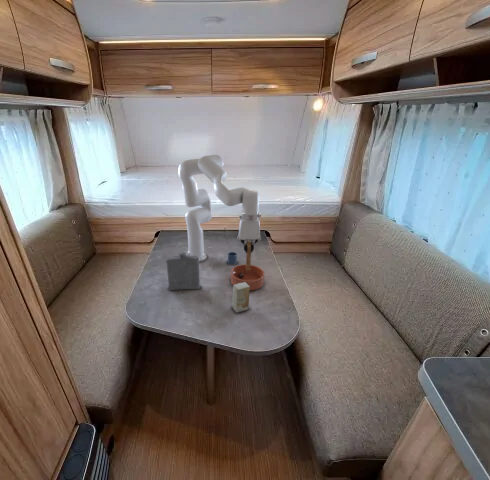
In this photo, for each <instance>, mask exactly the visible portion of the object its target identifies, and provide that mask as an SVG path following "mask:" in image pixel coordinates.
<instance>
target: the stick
mask: <svg viewBox="0 0 490 480" xmlns="http://www.w3.org/2000/svg"><path fill="white" fill-rule="evenodd" d="M251 242H252V240H247V253H246V252H245V253H246V254H245V265H246V271H248V270H250V265H251V262H252V261H251V260H252V253H251Z"/></svg>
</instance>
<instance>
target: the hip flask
mask: <svg viewBox="0 0 490 480" xmlns="http://www.w3.org/2000/svg"><path fill="white" fill-rule="evenodd" d="M165 261H166V271H167V273H166V274H167V282H168V283H167V284H168V290H169V291H176V290H199V289H200V288H201V283H200V281H201V280H200V261H199V257H198V256H188V255H186V252H184V250H181V251H179V252H178V255H174V256H173V255H172V256H167V257H165Z"/></svg>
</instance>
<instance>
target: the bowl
mask: <svg viewBox="0 0 490 480" xmlns="http://www.w3.org/2000/svg"><path fill="white" fill-rule="evenodd" d="M239 273H242V274H243V275H244V277H243V278H242V279H244V280H241V279H240V278H239V277H238V274H239ZM250 280H252V281H250ZM243 282H246V283H247V284H248V285H249V286H250V291H255V290H259V289H261V288H262V287H263V286H264V283H265V272H264V270H263V269H262V268H261V267H259V266H257V265H253V264H250V270H248V271H246V264H238V265H236V266H234V267H233V268H231V270H230V283H231V285H232V286H233V285H235V284H239V283H243Z"/></svg>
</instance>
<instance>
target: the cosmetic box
mask: <svg viewBox="0 0 490 480" xmlns="http://www.w3.org/2000/svg"><path fill="white" fill-rule="evenodd" d="M232 286H233V287H232V305H231V306H232V307H231V308H232V309H233V311H235V312H236V313H240V312H245V311H247V310H249V306H250V305H249V304H250V291H251V290H250V286H249V285H248V284H247V283H246V282H243V283H239V284H235V285H232Z"/></svg>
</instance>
